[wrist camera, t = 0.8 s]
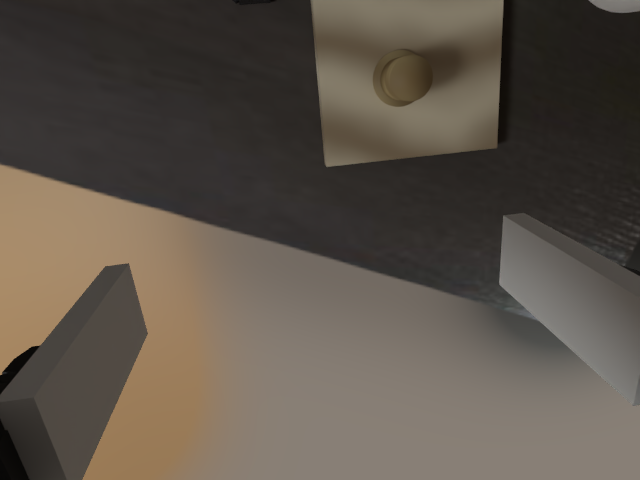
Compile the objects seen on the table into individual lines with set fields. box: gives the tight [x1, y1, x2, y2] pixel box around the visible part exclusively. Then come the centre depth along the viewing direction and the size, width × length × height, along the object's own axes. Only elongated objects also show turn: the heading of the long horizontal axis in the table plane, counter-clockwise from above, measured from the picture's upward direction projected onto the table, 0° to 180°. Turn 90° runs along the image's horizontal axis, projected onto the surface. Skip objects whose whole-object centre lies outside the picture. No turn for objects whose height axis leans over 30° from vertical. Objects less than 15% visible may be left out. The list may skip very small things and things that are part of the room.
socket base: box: [311, 0, 504, 167], centre depth 32 cm, size 16×14×4 cm
